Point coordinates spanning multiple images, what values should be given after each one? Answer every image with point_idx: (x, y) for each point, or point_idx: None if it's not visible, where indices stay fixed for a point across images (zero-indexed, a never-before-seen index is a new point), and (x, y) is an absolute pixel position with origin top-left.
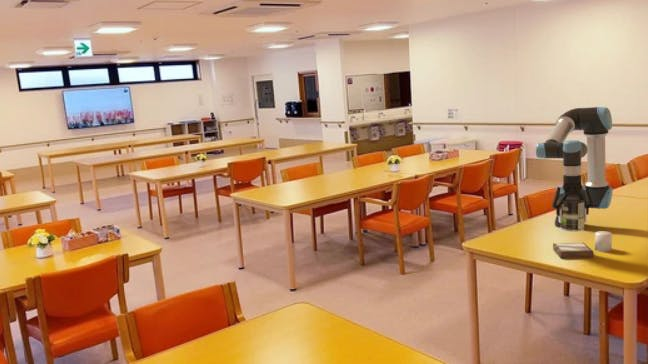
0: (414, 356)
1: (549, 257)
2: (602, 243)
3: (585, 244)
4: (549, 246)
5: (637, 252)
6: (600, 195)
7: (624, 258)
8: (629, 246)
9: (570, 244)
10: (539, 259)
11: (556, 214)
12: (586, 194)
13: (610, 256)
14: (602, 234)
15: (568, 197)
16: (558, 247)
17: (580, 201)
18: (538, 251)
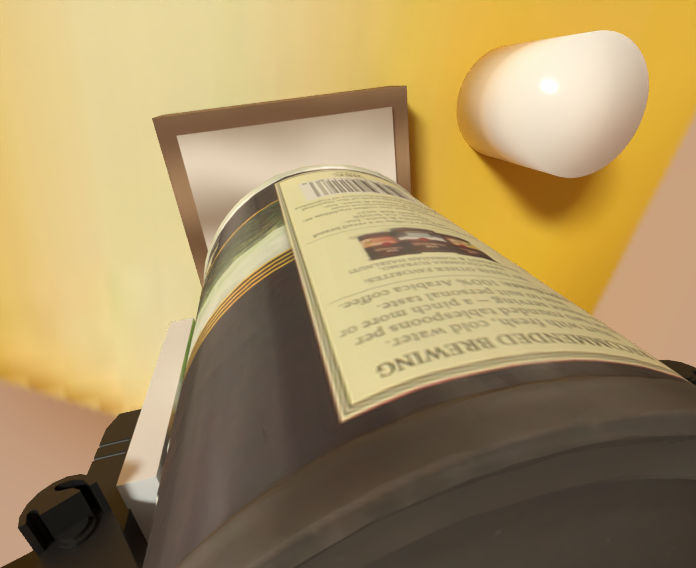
0: None
1: (149, 303)
2: (515, 163)
3: (406, 140)
4: (123, 6)
5: (649, 163)
6: None
7: (543, 275)
8: (678, 22)
9: (296, 159)
10: (87, 348)
11: (113, 430)
12: None
13: (493, 249)
14: (564, 154)
15: (466, 518)
16: (202, 232)
17: None
18: (47, 170)
